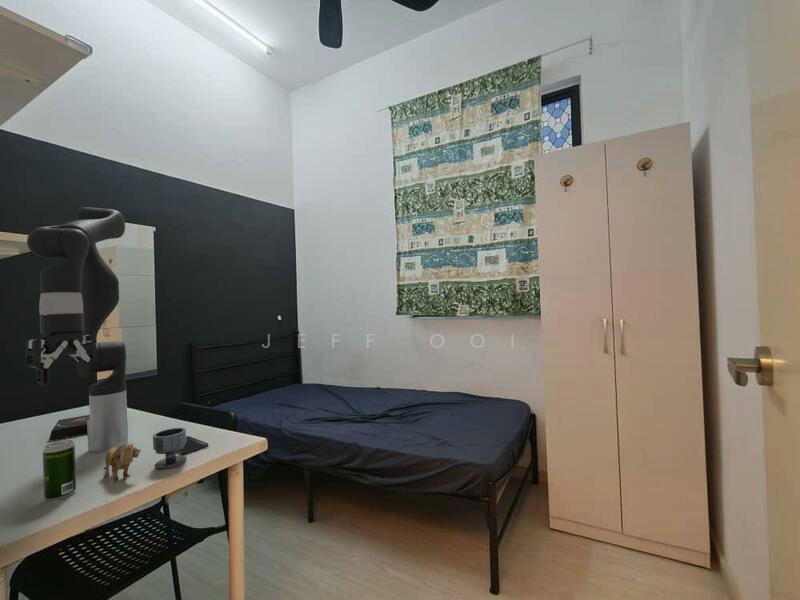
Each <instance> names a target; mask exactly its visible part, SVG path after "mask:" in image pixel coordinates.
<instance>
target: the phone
mask: <svg viewBox="0 0 800 600" xmlns="http://www.w3.org/2000/svg"><path fill="white" fill-rule="evenodd" d="M206 447H207V448H209V443H208V442H205V441H202V440H200V439H197V438H194V437H191V436H189V435H188V436H187V435H186V443H185V447H184V448H182V449H181V450H178V451H176V454H177V453H178V454H177V455H179V454H180V455H179V456H186V455H185V454H187V455H189V454H188V453H190V454H192V453H191V452H193V453H195V452H194V451H197V450H199V451H201V450H200V449H202V450H204V449H203V448H205V449H207V448H206Z"/></svg>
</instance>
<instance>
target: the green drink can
mask: <svg viewBox="0 0 800 600" xmlns="http://www.w3.org/2000/svg"><path fill="white" fill-rule="evenodd" d="M75 448H76V447H75V443H74V440H72V439H67V440H65V439H63V440H60V441H55V442H52V443H49V444H46V445H44V447H43V451H42V471H43V476H42V477H43V498H44V500H45V501H46V502H58V501H60V500H64V499H66V498H68V497H71V496H72V495H74V493H76V490H77V481H76V480H77V478H76V477H77V476H76V449H75Z"/></svg>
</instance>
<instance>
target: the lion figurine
mask: <svg viewBox="0 0 800 600" xmlns="http://www.w3.org/2000/svg"><path fill="white" fill-rule="evenodd" d="M141 451H142V450H141V449H139V448H136V447H135V446H133V443H131V442H128V443H127V444H125V445H123V446H121V447H119V448H117V447H113V448H111V449H109V450H108V451H106V454H105V456H104V457H105V459H104V461H105V462H104V463H105V467H103V470H104V474H103V478H107V477H109V476H110V467H111V472H112V473H111V475H112V484H117V483H118V482H120V481H119V480H120V478H119V476H118V471H119V470H120V471H121V470H123V472H122V477H123V478H124V479H128V478H130V477H129V476H131V474H128V472H129V471H128V470H129V468H130V466H131V464H132V463H133V461H134V458H136V459H137V458H139V455H140V454H141ZM127 477H128V478H127Z"/></svg>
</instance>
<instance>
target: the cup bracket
mask: <svg viewBox="0 0 800 600" xmlns="http://www.w3.org/2000/svg"><path fill="white" fill-rule="evenodd" d="M186 436H187V429H186V428H184V427H174V428H168V429H167V428H166V429H164V430H160V431H158V432H155V433H154V434H153V436H152V444H153V445H152V447H153V450H154V451H155V454H157V455H164V456H165V457H164V458H162V459H161V460H158V461H157V462H156V463H155V464H154V469H155V470H157V471H159V470H160V471H162V470H163V471H164V470H169V469H174V468H177V467H180V466H181V465H183V463H184V464H185V463H186V462H187V461H186V460H187V455H177V453H176V451H178V450H181V449H182V448H184V447H185V443H186Z"/></svg>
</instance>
